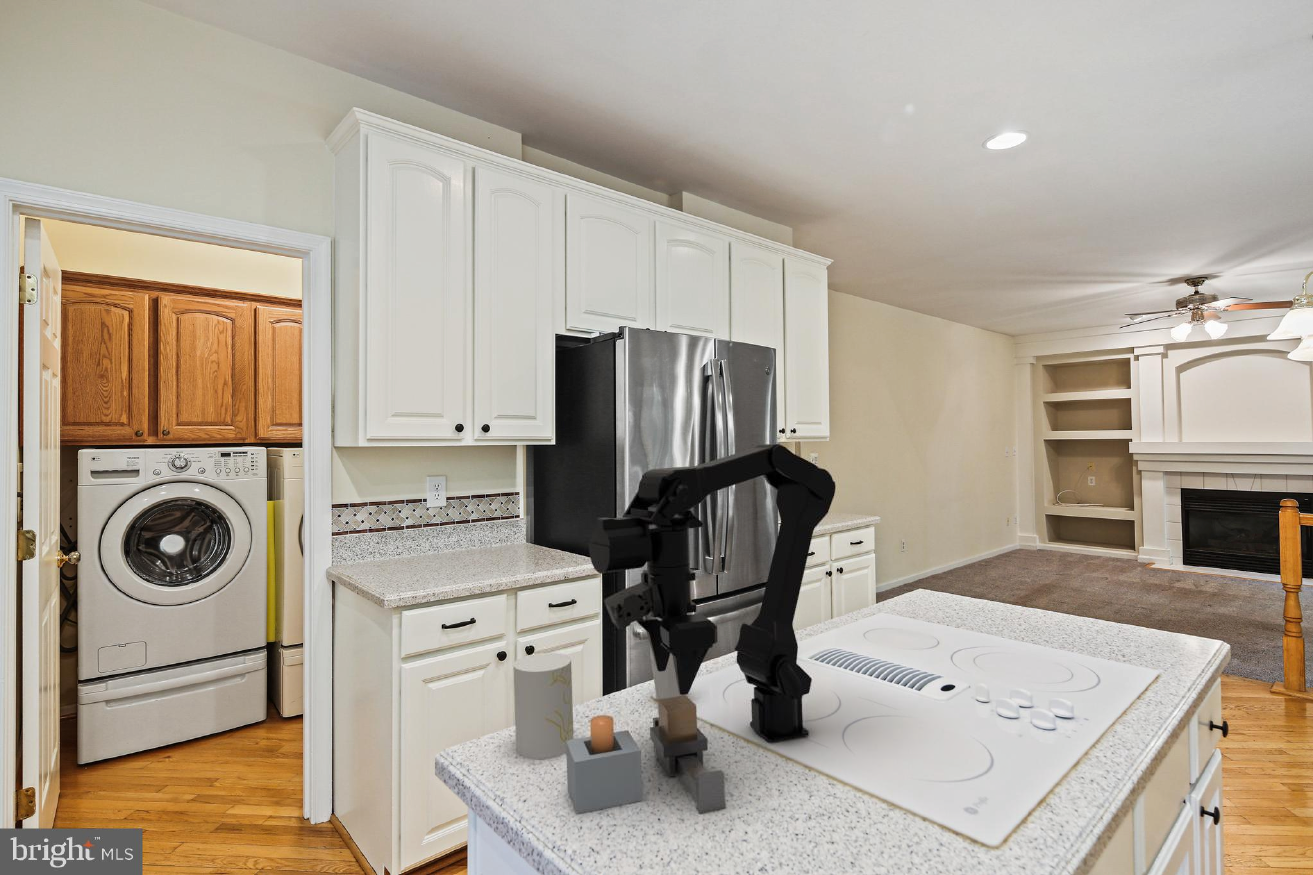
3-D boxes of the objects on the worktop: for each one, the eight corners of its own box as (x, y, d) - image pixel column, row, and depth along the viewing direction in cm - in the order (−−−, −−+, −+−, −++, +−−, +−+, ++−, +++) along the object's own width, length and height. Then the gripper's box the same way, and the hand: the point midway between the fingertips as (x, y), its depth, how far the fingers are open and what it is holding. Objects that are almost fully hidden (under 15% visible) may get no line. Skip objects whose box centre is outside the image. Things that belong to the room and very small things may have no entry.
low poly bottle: (654, 692, 113) (650, 564, 114) (691, 693, 112) (686, 563, 113) (649, 707, 107) (644, 571, 107) (688, 708, 106) (683, 571, 106)
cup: (562, 761, 90) (559, 672, 90) (506, 757, 91) (503, 670, 92) (581, 734, 98) (578, 653, 98) (529, 731, 99) (527, 651, 100)
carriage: (692, 748, 91) (690, 691, 92) (708, 768, 86) (706, 707, 86) (650, 756, 90) (648, 697, 90) (664, 777, 84) (662, 714, 84)
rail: (675, 742, 94) (674, 714, 94) (725, 808, 77) (724, 773, 77) (653, 746, 93) (652, 718, 93) (699, 813, 76) (698, 778, 76)
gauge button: (611, 742, 83) (610, 713, 83) (616, 752, 80) (615, 722, 80) (589, 746, 82) (588, 717, 82) (593, 756, 79) (592, 726, 79)
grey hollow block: (629, 776, 85) (627, 730, 85) (642, 800, 79) (640, 750, 79) (567, 788, 82) (565, 740, 83) (576, 813, 77) (574, 762, 77)
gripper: (594, 557, 94) (597, 667, 94) (627, 582, 76) (631, 718, 76) (668, 551, 97) (671, 658, 97) (717, 574, 80) (721, 704, 79)
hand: (672, 681), depth 87 cm, fingers open, 9 cm apart
